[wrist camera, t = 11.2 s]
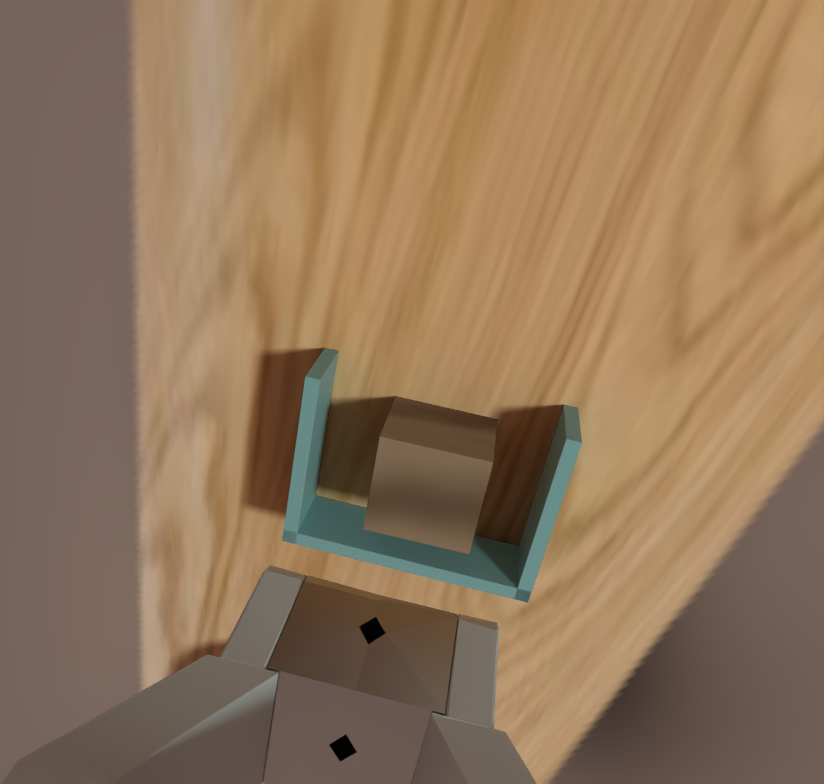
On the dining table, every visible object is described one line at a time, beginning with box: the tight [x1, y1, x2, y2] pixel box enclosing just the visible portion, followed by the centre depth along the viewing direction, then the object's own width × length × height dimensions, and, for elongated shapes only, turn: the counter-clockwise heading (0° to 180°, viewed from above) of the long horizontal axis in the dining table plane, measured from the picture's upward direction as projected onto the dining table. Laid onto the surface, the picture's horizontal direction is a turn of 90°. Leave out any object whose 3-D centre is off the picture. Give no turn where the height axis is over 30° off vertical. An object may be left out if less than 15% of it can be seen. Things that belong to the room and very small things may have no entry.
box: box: [282, 348, 582, 602], centre depth 43 cm, size 11×15×4 cm
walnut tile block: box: [363, 396, 498, 554], centre depth 42 cm, size 6×6×5 cm
